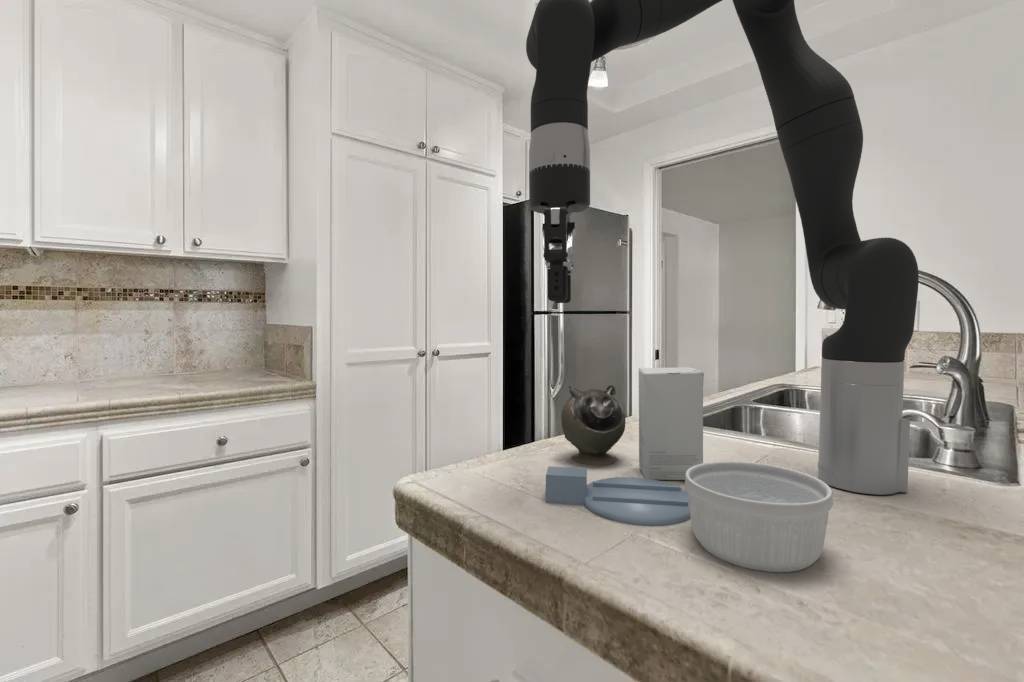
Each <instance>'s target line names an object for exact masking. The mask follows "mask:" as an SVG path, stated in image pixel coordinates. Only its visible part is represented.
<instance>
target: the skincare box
mask: <svg viewBox="0 0 1024 682" xmlns="http://www.w3.org/2000/svg"><path fill="white" fill-rule="evenodd" d="M704 375H705V373H704V372H703V371H702V370H699V369H697V368H694V367H687V366H686V367H638V456H639V457H638V467H639V469H640V470H641V473H642V474H643V476H644V477H643V478H646V479H653V480H658V481H685V474H686V471H687V470H688V469H689V468H691V467H693V466H695V465H698V464H702V463H704Z"/></svg>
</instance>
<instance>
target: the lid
mask: <svg viewBox="0 0 1024 682" xmlns="http://www.w3.org/2000/svg"><path fill="white" fill-rule="evenodd" d="M545 503H551V504H567V505H583V506H584V507H585V508H586V509H587V510H588V511H590V512H591V513H592V514H594V515H596V516H598V517H601V518H604V519H606V520H610V521H611V522H612V521H613V522H615V523H621V524H626V525H633V526H643V527H661V526H664V527H666V526H671V525H676V524H681V523H684V522H686V521H688V520H691V516H690V507H689V496H688V491H687V489H684V488H682V487H681V486H680V485H676V484H673V483H669V482H665V481H663V480H653V479H646V478H645V477H636V476H635V477H632V476H619V477H618V476H617V477H608V478H602V479H597V480H594V481H593V480H592V482H589V483H588V468H586V467H567V466H564V467H563V466H551V465H549V466H547V470H546V473H545Z"/></svg>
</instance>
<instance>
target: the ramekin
mask: <svg viewBox="0 0 1024 682" xmlns="http://www.w3.org/2000/svg"><path fill="white" fill-rule="evenodd" d="M684 486H685V487H684V488H685V490H686V491H688V496H689V507H690V516H691V518H690V523H691V529H692V532H693V535H694V536H695V538H696V539H697V541H698V542H699V543H700V545H701V546H702V547H703V548H704V550H706V551H707V552H708V553H709V554H711V555H712V556H715V557H716V558H718V559H720V560H722V561H724V562H726V563H730V564H732V565H734V566H738V567H742V568H744V569H745V568H746V569H749V570H753V571H758V572H759V571H761V572H767V573H769V572H770V573H791V572H792V573H793V572H797V571H801V570H805V569H806V568H808V567H810V566H811V565H812V564H814V563H816V561H817V560H819V558H820V556H821V554H822V553H823V549H824V545H825V540H826V533H827V526H828V522H829V521H828V520H829V513H830V511H831V510H832V507H833V506H834V505H833V504H834V502H833V501H834V499H833V491H832V488H831V486H830V485H828V484H826V483H824V482H823V481H821V480H820V479H819V478H818V477H815V476H813V475H810V474H808V473H805V472H802V471H799V470H795V469H793V468H792V469H791V468H787V467H785V466H784V467H783V466H779V465H774V464H767V463H761V462H751V461H734V460H723V461H721V460H720V461H709V462H703V463H702V464H698V465H695V466H693V467H691V468H689V469H688V470H687V471H686V474H685V480H684Z"/></svg>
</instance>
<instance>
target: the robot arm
mask: <svg viewBox="0 0 1024 682" xmlns="http://www.w3.org/2000/svg"><path fill="white" fill-rule="evenodd" d="M722 1H723V0H591V1H590V0H539V1H538V3H537V5H536V6H535V10H534V13H533V16H532V17H533V18H532V20H531V23H530V25H529V30H528V33H527V37H526V39H525V40H526V41H525V51H526V56H527V59H528V61H529V62H530V65H531V66H532V67H533V68H534V69H535V72H536V73H535V79H534V84H533V88H532V92H531V97H530V98H531V99H530V140H529V141H530V142H529V149H528V178H529V179H528V188H529V189H528V193H529V194H528V198H529V199H528V201H529V202H528V203H529V204H528V205H529V208H530V210H531V211H533V212H535V213H537V214H542V215H543V218H544V220H543V223H542V226H541V227H542V228H541V230H542V231H541V232H542V237H543V238H542V239H543V240H542V241H543V242H542V249H543V254H542V255H543V259H544V265H545V267H546V269H547V299H548V300H549V301H550V302H555V303H556V304H569V303H570V302H571V301H572V286H571V285H572V273H573V269H574V264H573V261H574V260H575V258H576V256H575V255H576V244H575V243H576V242H575V241H576V240H577V225H576V222H574V221H572V222H571V215H572V214H573V213H580V212H583V211H586V210H587V209H588V208H589V207H590V205H591V148H590V147H591V145H590V141H589V140H590V139H589V132H588V131H589V120H588V119H589V117H588V116H589V113H588V112H589V110H588V108H589V105H588V104H589V103H588V89H589V88H588V87H589V80H590V73H591V67H592V62H594V61H597V60H598V59H600V58H603V56H605V55H608V54H609V53H610V52H612V51H613V50H616V49H618V48H621V47H624V46H628V45H632V44H634V43H638V42H640V41H641V42H642V41H644V40H646V39H650V38H652V37H656V36H659V35H662V34H664V33H665V32H668V31H670V30H672V29H675V28H677V27H678V26H680V25H682V24H684V23H686V22H687V21H690V20H691V19H693V18H695V17H696V16H698V15H699V14H701V13H703V12H704V11H706V10H708V9H710V8H711V7H713V6H714V5H717V4H719V3H721V2H722ZM732 4H733V6H734V9H735V12H736V15H737V18H738V19H739V23H740V24H741V26H742V29H743V31H744V34H745V37H746V39H747V42H748V43H749V46H750V48H751V51H752V54H753V57H754V59H755V61H756V64H757V67H758V70H759V74H760V77H761V81H762V84H763V86H764V90H765V92H766V93H765V94H766V96H767V99H768V102H769V106H770V107H769V108H770V109H771V113H772V114H771V115H772V116H773V117H772V118H773V122H774V126H775V131H776V134H777V138H778V142H779V146H780V149H781V153H782V156H783V159H784V162H785V165H786V168H787V172H788V175H789V178H790V183H791V186H792V189H793V194H794V198H795V202H796V206H797V209H798V213H799V214H798V215H799V218H800V223H801V227H802V233H803V239H804V245H805V252H806V259H807V265H808V266H807V267H808V271H809V276H810V277H809V278H810V280H811V284H812V288H813V290H814V292H815V294H816V295H817V297H818V298H819V299H820V301H822V302H823V304H825V305H827V306H828V307H830V308H833V309H837V310H844V311H845V313H844V319H843V323H842V324H841V326H840V327H839V329H837V330H836V331H835V332H834V333H832V334H830V335H828V336H826V337H824V339H823V340H822V343H821V344H822V345H821V365H820V367H821V369H820V370H821V371H820V397H819V400H820V401H819V404H820V405H819V428H818V429H819V433H818V458H817V459H818V461H817V468H818V469H817V479H819V480H821V481H823V482H824V483H826V484H827V485H828V486H829V487H833V488H837V489H840V490H844V491H848V492H853V493H859V494H867V495H878V496H879V495H881V496H882V495H894V494H897V493H908V490H909V489H908V487H909V485H908V484H909V461H910V438H911V436H910V435H911V422H910V421H909V419H907V418H905V417H903V409H904V388H905V387H904V383H905V382H904V381H905V360H906V359H905V358H906V357H905V356H906V350H907V347H908V346H909V343H910V342H911V340H912V338H913V335H914V330H915V321H916V310H917V302H918V301H917V300H918V293H919V279H920V278H919V277H920V276H919V275H920V274H919V266H918V263H917V258H916V255H915V253H914V252H913V250H912V249H911V247H910V246H909V245H908V244H906V243H905V242H904V241H902V240H900V239H897V238H894V237H878V238H877V237H876V238H870V239H866V240H862V239H861V237H860V233H859V231H858V226H857V224H856V222H857V221H856V218H855V215H854V209H853V207H854V206H853V198H854V189H855V185H856V181H857V180H856V179H857V176H858V172H859V167H860V164H861V163H860V162H861V159H862V155H863V154H862V153H863V147H864V131H863V126H862V120H861V118H860V114H859V109H858V106H857V102H856V99H855V94H854V92H853V89H852V86H851V84H850V83H849V81H848V80H847V79H846V77H845V76H844V75H843V74H842V73H841V72H840V71H839V70H838V69H837V68H836V67H834V66H833V65H832V64H831V63H829V62H828V61H827V60H826V59H824V58H823V57H822V56H821V55H819V54H818V53H817V52H815V51H814V50H813V49H812V48H811V47H810V45H809V44H808V42H807V41H806V39H805V37H804V35H803V32H802V29H801V26H800V24H799V20H798V16H797V12H796V7H795V0H732Z"/></svg>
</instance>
